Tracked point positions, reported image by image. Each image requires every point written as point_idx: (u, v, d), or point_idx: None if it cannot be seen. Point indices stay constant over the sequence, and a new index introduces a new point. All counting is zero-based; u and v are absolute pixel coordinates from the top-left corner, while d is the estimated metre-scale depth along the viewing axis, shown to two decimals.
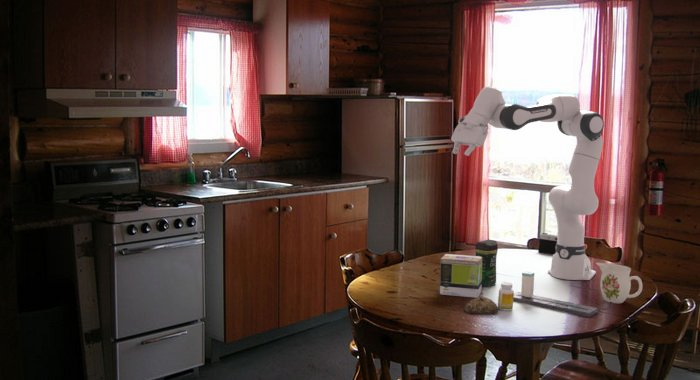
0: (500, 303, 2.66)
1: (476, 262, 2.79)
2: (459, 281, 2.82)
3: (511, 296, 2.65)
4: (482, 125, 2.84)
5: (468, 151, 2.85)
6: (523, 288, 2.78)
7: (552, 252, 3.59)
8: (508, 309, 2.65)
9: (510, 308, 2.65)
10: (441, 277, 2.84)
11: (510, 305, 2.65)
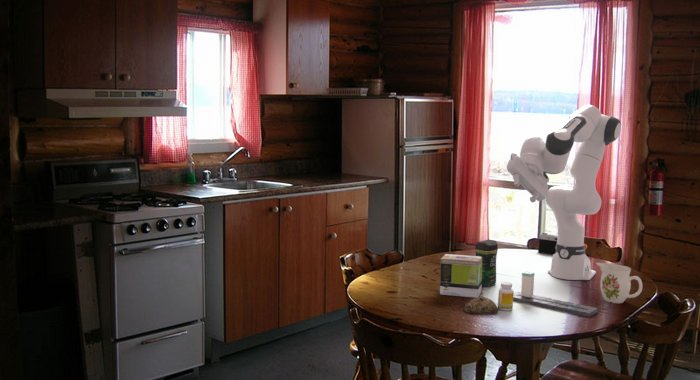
0: (500, 303, 2.66)
1: (476, 262, 2.79)
2: (459, 281, 2.82)
3: (511, 296, 2.65)
4: None
5: (515, 181, 2.70)
6: (523, 288, 2.78)
7: (552, 252, 3.59)
8: (508, 309, 2.65)
9: (510, 308, 2.65)
10: (441, 277, 2.84)
11: (510, 305, 2.65)
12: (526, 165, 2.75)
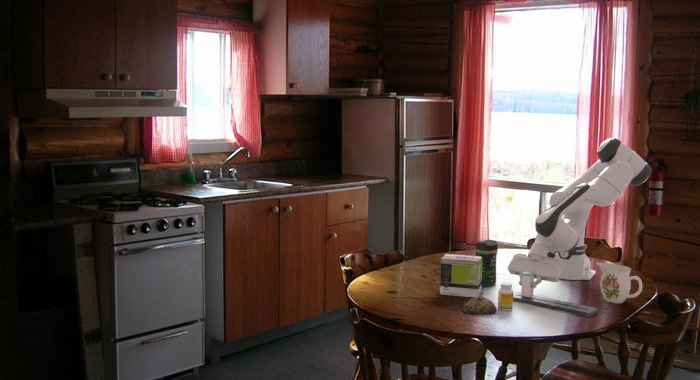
0: (500, 303, 2.66)
1: (476, 262, 2.79)
2: (459, 281, 2.82)
3: (510, 296, 2.65)
4: None
5: None
6: (523, 288, 2.78)
7: None
8: (507, 309, 2.65)
9: (509, 308, 2.65)
10: (441, 277, 2.84)
11: (509, 305, 2.65)
12: (527, 258, 2.84)
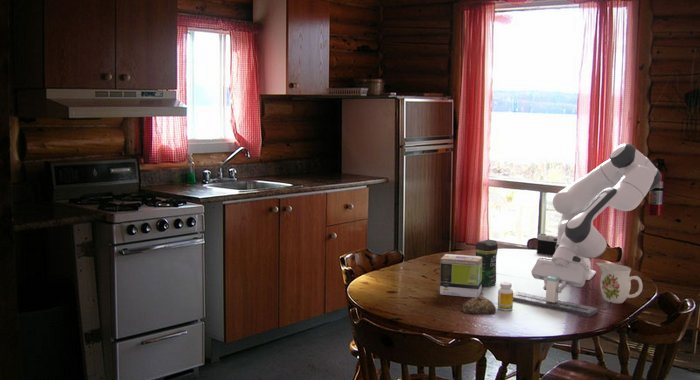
0: (499, 303, 2.66)
1: (476, 262, 2.79)
2: (459, 281, 2.82)
3: (510, 296, 2.65)
4: None
5: None
6: (548, 293, 2.71)
7: (551, 253, 3.57)
8: (507, 309, 2.65)
9: (509, 308, 2.65)
10: (441, 277, 2.84)
11: (509, 305, 2.65)
12: (552, 262, 2.77)
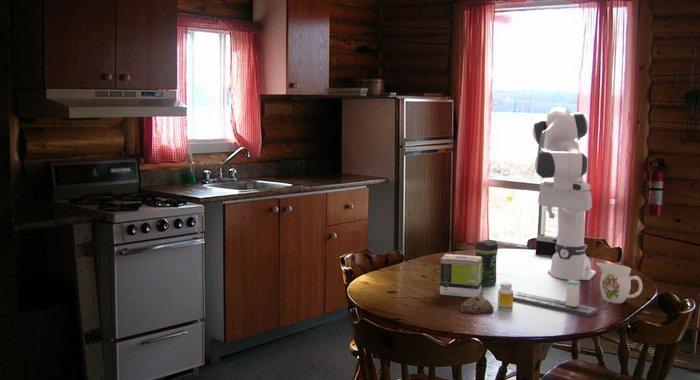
0: (499, 303, 2.66)
1: (476, 262, 2.79)
2: (459, 281, 2.82)
3: (509, 296, 2.65)
4: None
5: None
6: (568, 297, 2.66)
7: (550, 254, 3.55)
8: (506, 309, 2.65)
9: (508, 308, 2.65)
10: (441, 277, 2.84)
11: (508, 305, 2.65)
12: (554, 190, 2.77)
